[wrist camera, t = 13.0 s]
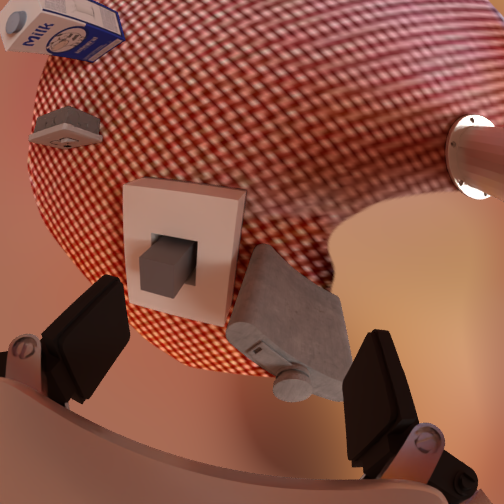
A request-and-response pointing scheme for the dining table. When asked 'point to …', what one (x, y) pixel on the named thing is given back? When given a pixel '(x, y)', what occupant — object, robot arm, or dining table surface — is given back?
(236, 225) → the socket
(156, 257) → the plug
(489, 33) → the dining table surface
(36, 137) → the electrical switch
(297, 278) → the hip flask
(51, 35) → the milk carton
